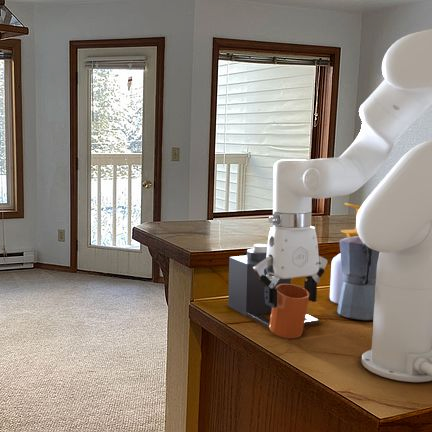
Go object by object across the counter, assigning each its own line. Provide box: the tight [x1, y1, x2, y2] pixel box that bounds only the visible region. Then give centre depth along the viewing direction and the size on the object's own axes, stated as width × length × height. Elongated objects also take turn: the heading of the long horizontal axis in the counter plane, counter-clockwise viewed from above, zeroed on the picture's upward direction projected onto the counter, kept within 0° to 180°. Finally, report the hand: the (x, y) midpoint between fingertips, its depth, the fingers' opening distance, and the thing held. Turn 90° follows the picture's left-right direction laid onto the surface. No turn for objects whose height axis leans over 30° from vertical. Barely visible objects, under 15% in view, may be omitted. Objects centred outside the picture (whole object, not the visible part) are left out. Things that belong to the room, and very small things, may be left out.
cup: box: [269, 283, 310, 339], centre depth 114 cm, size 7×7×9 cm
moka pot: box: [336, 236, 380, 321], centre depth 125 cm, size 10×15×20 cm, turn 174°
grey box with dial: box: [227, 248, 292, 317], centre depth 131 cm, size 8×12×14 cm, turn 112°
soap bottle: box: [329, 202, 361, 305], centre depth 136 cm, size 9×9×25 cm
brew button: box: [253, 243, 267, 253], centre depth 130 cm, size 3×3×2 cm
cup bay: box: [245, 311, 320, 330], centre depth 124 cm, size 10×12×1 cm
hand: (290, 303), depth 114 cm, fingers open, 9 cm apart
